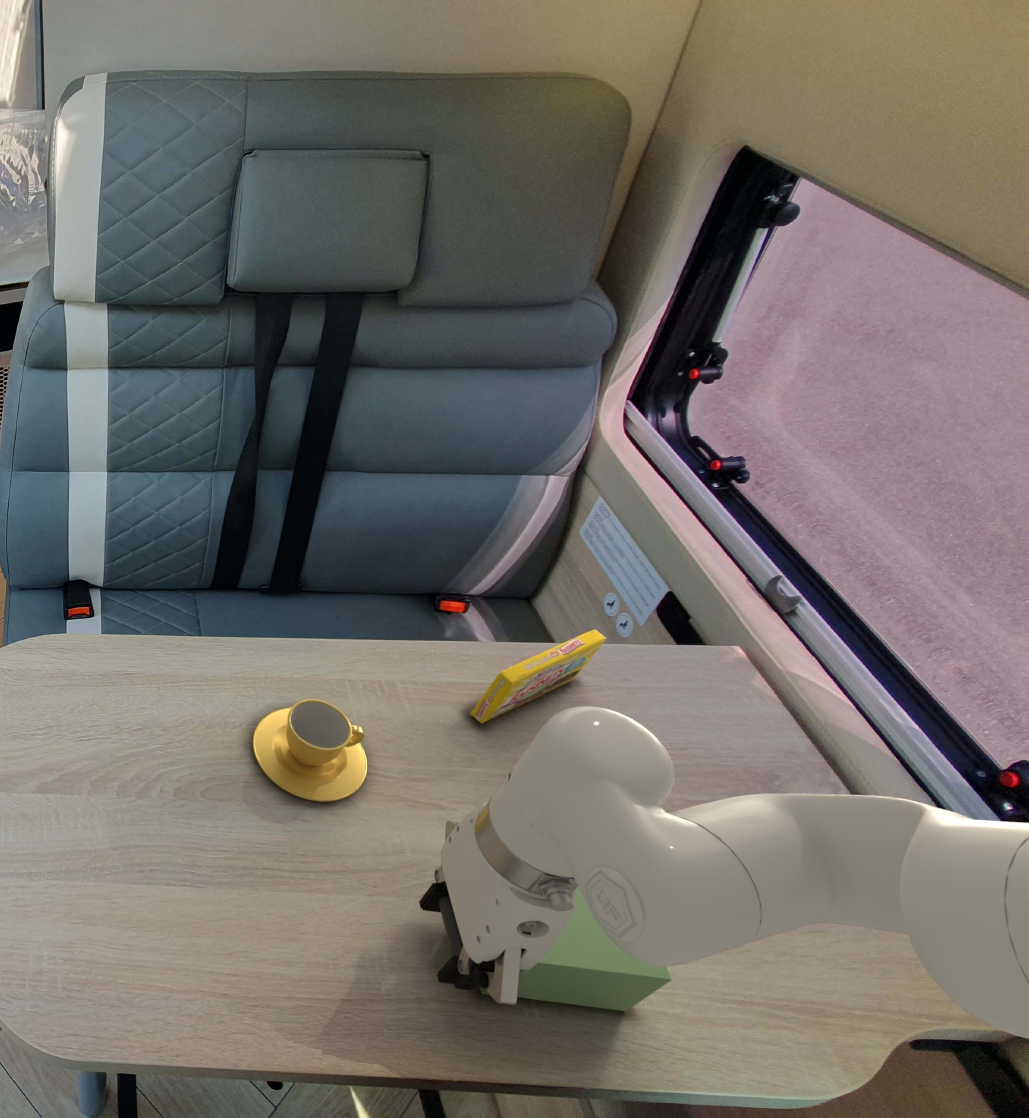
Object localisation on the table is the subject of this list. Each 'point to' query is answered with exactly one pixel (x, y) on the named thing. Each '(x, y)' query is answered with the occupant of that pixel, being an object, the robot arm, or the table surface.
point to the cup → (311, 751)
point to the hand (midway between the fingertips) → (446, 942)
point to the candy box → (537, 675)
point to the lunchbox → (578, 965)
